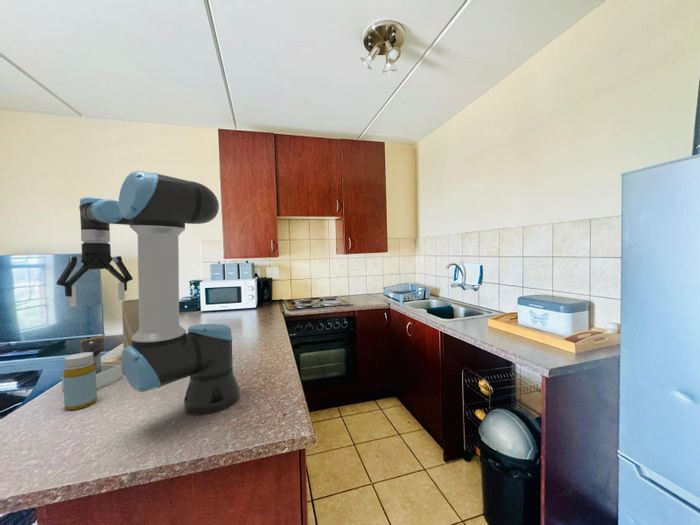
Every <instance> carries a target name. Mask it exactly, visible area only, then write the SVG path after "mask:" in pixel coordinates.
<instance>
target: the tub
mask: <svg viewBox="0 0 700 525" xmlns="http://www.w3.org/2000/svg"><path fill="white" fill-rule="evenodd" d="M120 380H123V374H122V365H110V364H101V373H99V374H96V388H97V391H99V390H100V389H102V388H104V387H106V386H109V385H112V384H113V383H114V384H115V383H116V382H118V381H120ZM61 385H62V386H61V389H62V390H61V391H62V392H64V384H63V375H62V376H61Z"/></svg>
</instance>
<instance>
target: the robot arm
mask: <svg viewBox="0 0 700 525" xmlns="http://www.w3.org/2000/svg"><path fill="white" fill-rule="evenodd" d="M219 207H220V204H219V200H218V197H217V196H216V194H215V193H214V192H213V191H212V190H211V189H210V188H209V187H207V186H206V185H204V184H202V183H200V182H196V181H192V180H186V179H182V178H177V177H172V176H170V175H164V174H161V173H157V172H149V171H141V170H135V171H132V172H130V173H129V174H128V175H127V176H126V177H125V179H124V181H123V183H122V185H121V187H120V191H119V196H118V201H117V200H115V199H113V198H100V197H95V196H94V197H93V196H92V197H91V196H89V197H81V198H80V200H79V207H78V208H79V219H80V241H81V242H82V243H81V257H77V256H69V258H68V264H67V265H66V267H65V269H64V270H63V272H62V274H61V275H60V276H59V277H58V279H57V281H56V285H57V286H62V287H64V295H65V297H68V299H69V307H77V298H76V297H77V295H76V291H77V290H76V285H75V286H73V285H74V284H76V282H77V281H78V280H79V279H81V277H82V276H83V275H84V274H85V273H86V272H87V271H89V270H106V271H108V272H109V273H110V274H111V275H112V276H113V277H115V278H116V279H117V280H118V281H119V282H118V283H117V290H118V291H117V292H118V301H126V300H125V299H126V298H125V297H126V296H125V295H126V294H125V292H127V290H128V284H127V283H128V282H130V281H132V280H134V278H133V276H132V274H131V273H130V271H129V270H128V268H127V267H126V266H125V264H124V262H123V259H122V258H123V257H122V256H120V255H118V256H112V255H111V254H112V251H111V250H112V248H111V244H110V242H111V232H110V230H111V229H110V228H111V227H110V225H124V226H129V228H130V229H132V230H133V231H134V232H135V233H136V235H137V268H138V269H137V275H138V276H137V278H138V281H137V282H138V285H137V286H138V289H137V290H138V299H139V330H138V332H136V333H135V334H134V335H133V336H132V346H128V347H127V348H124V347H123V349H122V350H121V355H120V356H121V361H122V367H123V370H124V373H125V374H124V376H125V378H126V380H127V382H128V384H129V385H130V387H131V388H132V389H133V390H135V391H137V392H140V393H145V392H148V391H151V390H154V389H160V388H161V387H164V386H166V385H168V384H169V385H170V384H172V383H174V382H177V381H179V380H182V379H185V378H188V377H189V382H188V385H187V389H186V392H185V396H184V399H183V409H184V411H185V412H186V413H187V414H191V415H197V416H198V415H199V416H200V415H207V414H212V413H217V412H221V411H222V410H225V409H227V408H229V407H231V406H232V405H234V404H235V403H236V402H238V400H239V399H240V392H241V391H240V386H239V385H238V382H237V379H236V376H235V374H234V368H233V364H234V362H233V359H234V358H233V334H232V329H231V327H230V326H228V325H225V324H220V323H219V324H217V323H207V324H206V323H205V324H204V323H202V324H193V325H191V326H189V327H188V328H187V330H186V329H185V328H184V327H183V326H181V325H180V285H179V284H180V277H179V274H180V270H179V268H180V267H179V266H180V265H179V262H180V261H179V260H180V259H179V257H180V256H179V255H180V254H179V236H180V235H181V234H182V233H183V232H184V231H185V230H186V224H188V225H189V224H190V225H191V224H192V225H201V224H206V223H210V222H211V221H213V220H214V219H215V218H216V217H217V215H218V213H219V209H220V208H219ZM80 262H81V263H82V264H83V265H82V266H80V268H79V269H78V270H77V271H76V272H75V273H74V274H73V275H72V276H71V274H72V272H73V270H75V267H76V266H77V264H78V263H80ZM111 262H113V263H115V265H116V266H117V268H118V269H119V271H120V272H121V273H120V272H119V271H118V270H117V268H114V266H113V265H112V264H111ZM70 276H71V277H70ZM69 277H70V278H69ZM186 331H187V332H186Z"/></svg>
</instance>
